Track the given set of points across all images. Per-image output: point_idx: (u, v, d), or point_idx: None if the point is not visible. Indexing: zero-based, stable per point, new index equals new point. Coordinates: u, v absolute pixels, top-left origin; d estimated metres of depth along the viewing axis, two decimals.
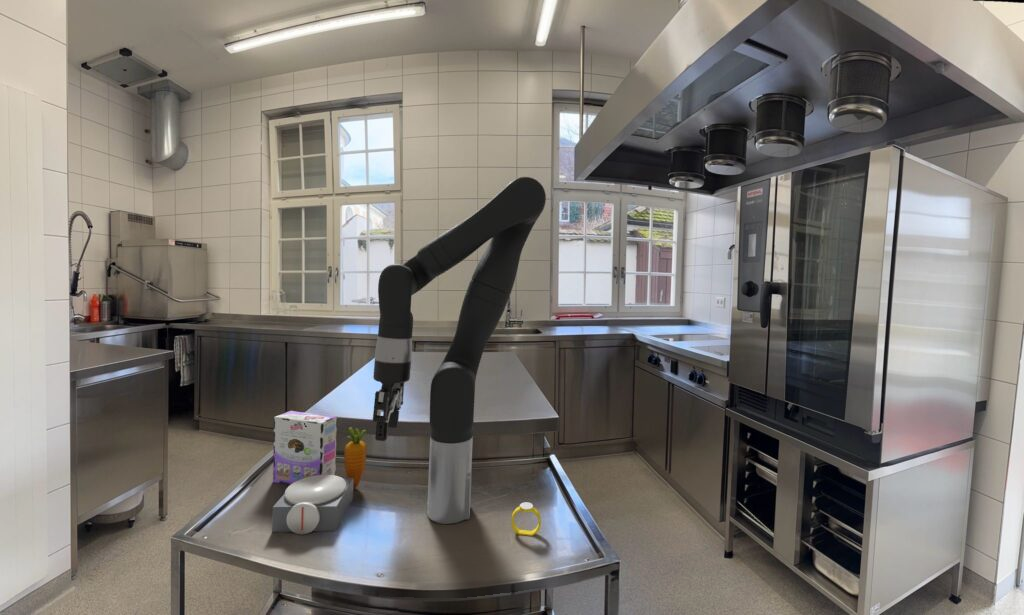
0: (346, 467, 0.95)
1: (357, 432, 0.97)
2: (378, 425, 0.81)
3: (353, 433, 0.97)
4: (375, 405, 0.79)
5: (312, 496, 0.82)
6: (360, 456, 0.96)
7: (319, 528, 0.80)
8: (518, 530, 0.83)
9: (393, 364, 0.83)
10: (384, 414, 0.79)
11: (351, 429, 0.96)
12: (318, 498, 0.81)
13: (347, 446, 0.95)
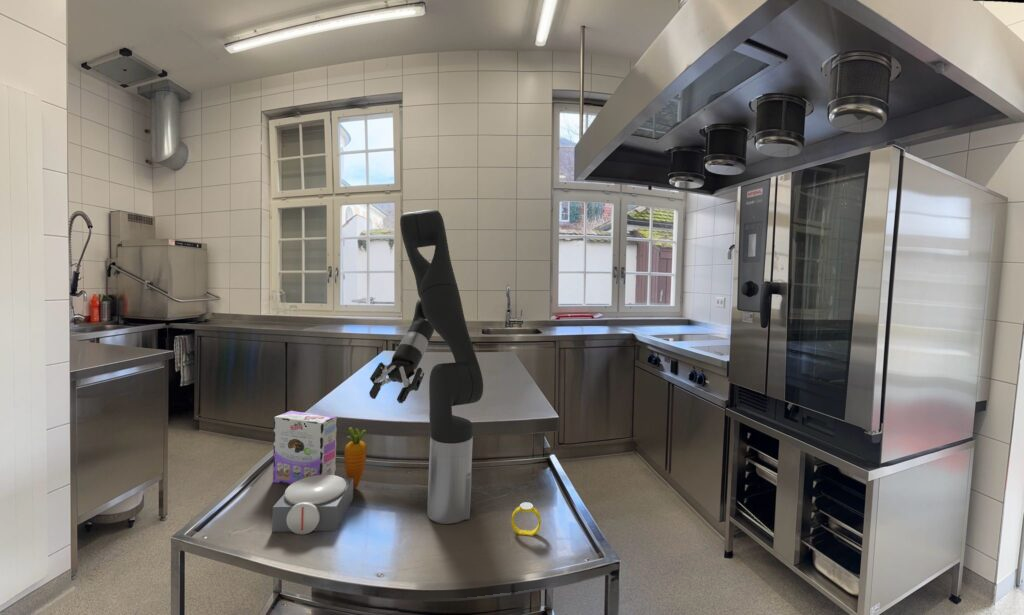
0: (346, 467, 0.95)
1: (357, 432, 0.97)
2: None
3: (353, 433, 0.97)
4: None
5: (312, 496, 0.82)
6: (360, 456, 0.96)
7: (319, 528, 0.80)
8: (518, 530, 0.83)
9: None
10: None
11: (351, 429, 0.96)
12: (318, 498, 0.81)
13: (347, 446, 0.95)
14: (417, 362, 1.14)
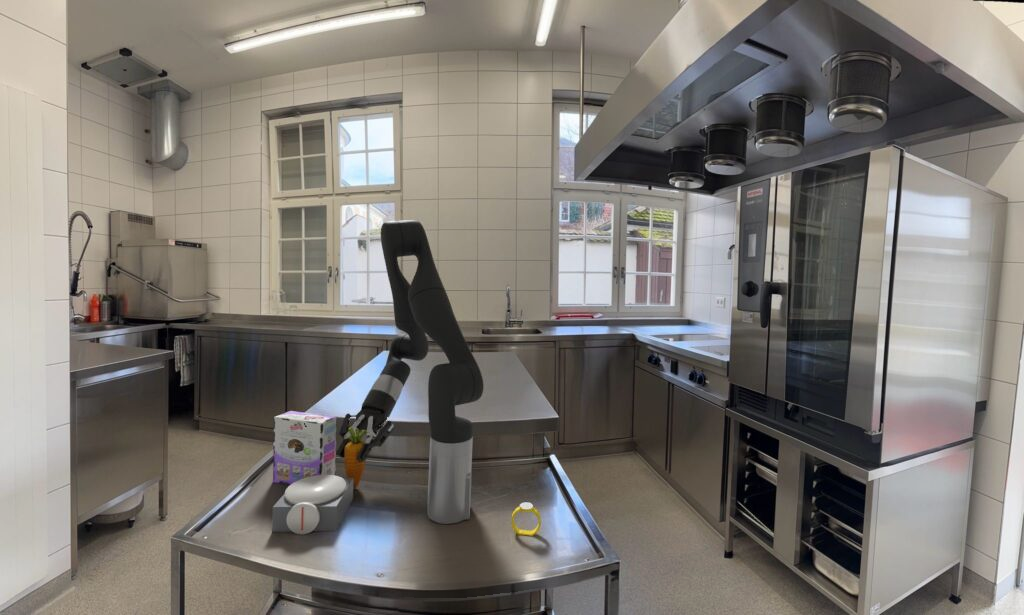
0: (346, 467, 0.95)
1: (357, 432, 0.97)
2: None
3: (353, 433, 0.97)
4: None
5: (312, 496, 0.82)
6: None
7: (319, 528, 0.80)
8: (518, 530, 0.83)
9: None
10: None
11: (351, 429, 0.96)
12: (318, 498, 0.81)
13: (347, 446, 0.95)
14: (389, 410, 1.03)
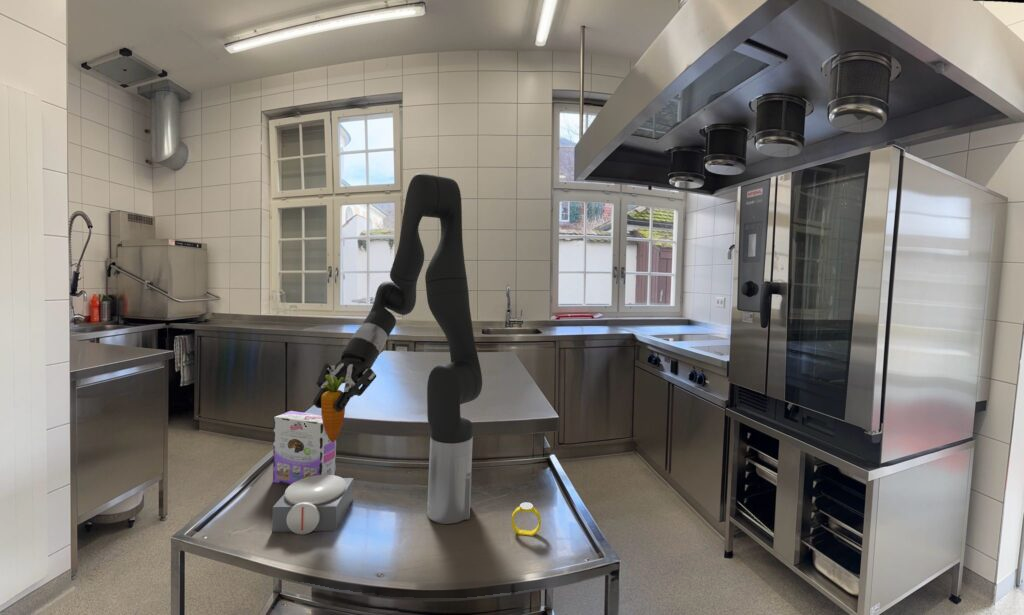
0: (323, 417, 0.87)
1: (335, 380, 0.89)
2: None
3: (330, 381, 0.89)
4: None
5: (312, 496, 0.82)
6: None
7: (319, 528, 0.80)
8: (518, 530, 0.83)
9: None
10: None
11: (328, 376, 0.88)
12: (318, 498, 0.81)
13: (324, 394, 0.87)
14: (371, 359, 0.95)
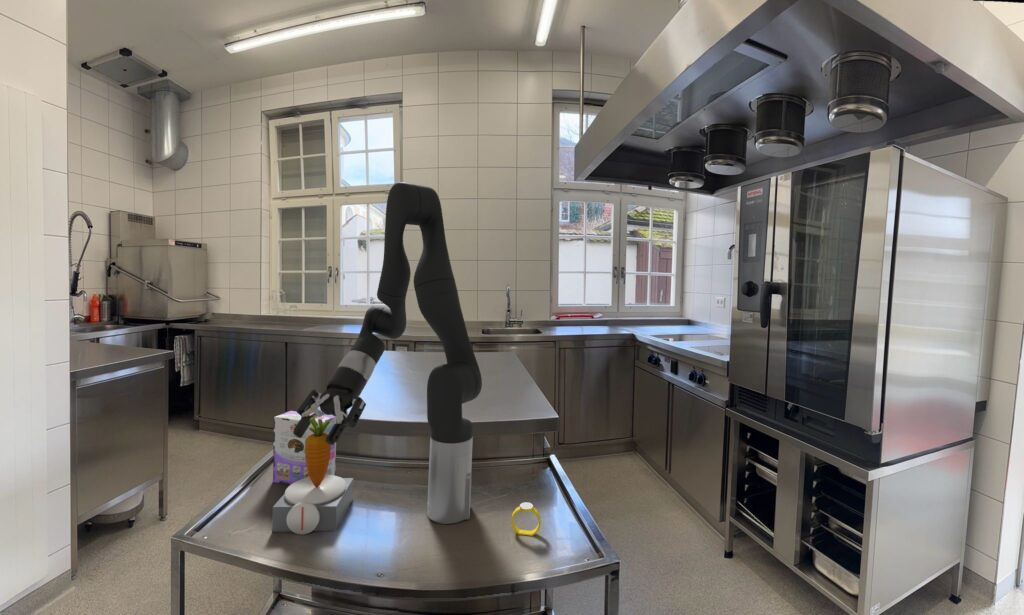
0: (307, 462, 0.84)
1: (320, 423, 0.86)
2: None
3: (315, 424, 0.85)
4: None
5: (312, 496, 0.82)
6: (323, 451, 0.84)
7: (319, 528, 0.80)
8: (518, 530, 0.83)
9: None
10: None
11: (313, 420, 0.85)
12: (318, 498, 0.81)
13: (308, 439, 0.84)
14: (358, 389, 0.91)
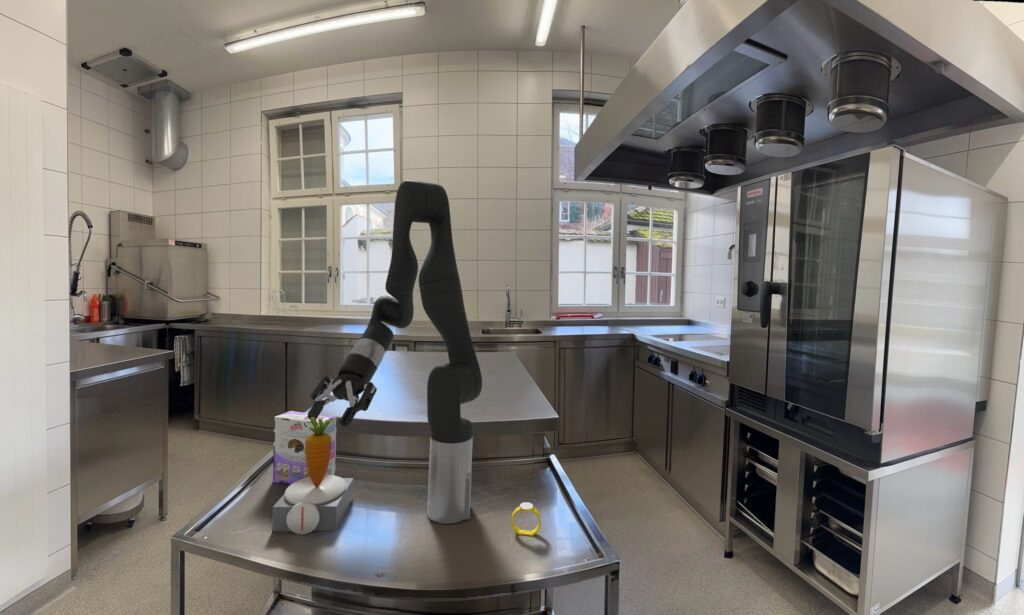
0: (307, 462, 0.84)
1: (320, 423, 0.86)
2: None
3: (315, 424, 0.85)
4: None
5: (312, 496, 0.82)
6: (323, 450, 0.84)
7: (319, 528, 0.80)
8: (518, 530, 0.83)
9: None
10: None
11: (313, 419, 0.85)
12: (318, 498, 0.81)
13: (308, 438, 0.84)
14: (369, 375, 0.94)
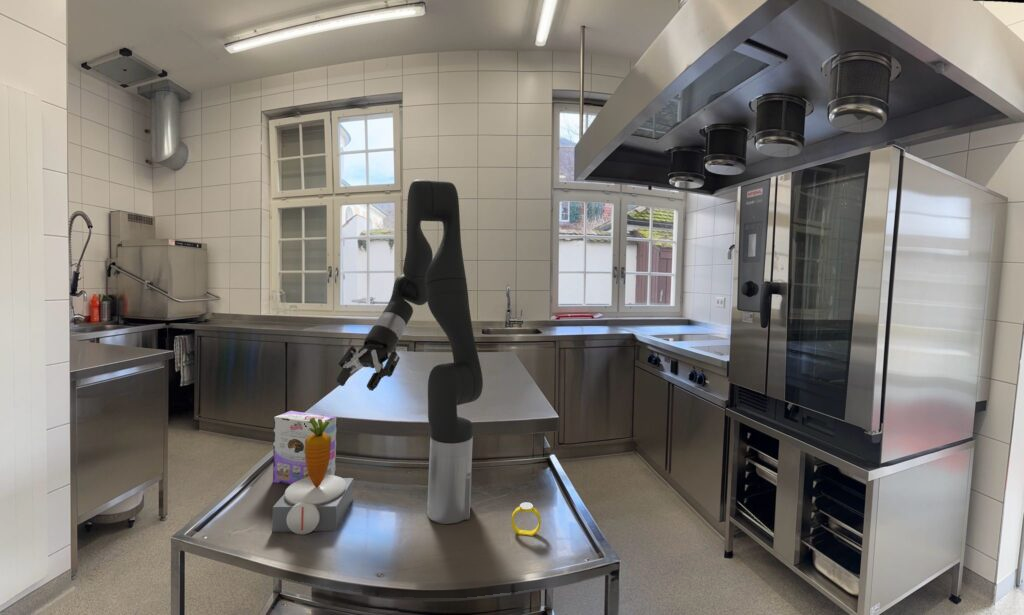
0: (307, 462, 0.84)
1: (320, 423, 0.86)
2: None
3: (315, 424, 0.85)
4: None
5: (312, 496, 0.82)
6: (323, 451, 0.84)
7: (319, 528, 0.80)
8: (518, 530, 0.83)
9: None
10: None
11: (313, 420, 0.85)
12: (318, 498, 0.81)
13: (308, 439, 0.84)
14: (392, 345, 1.02)
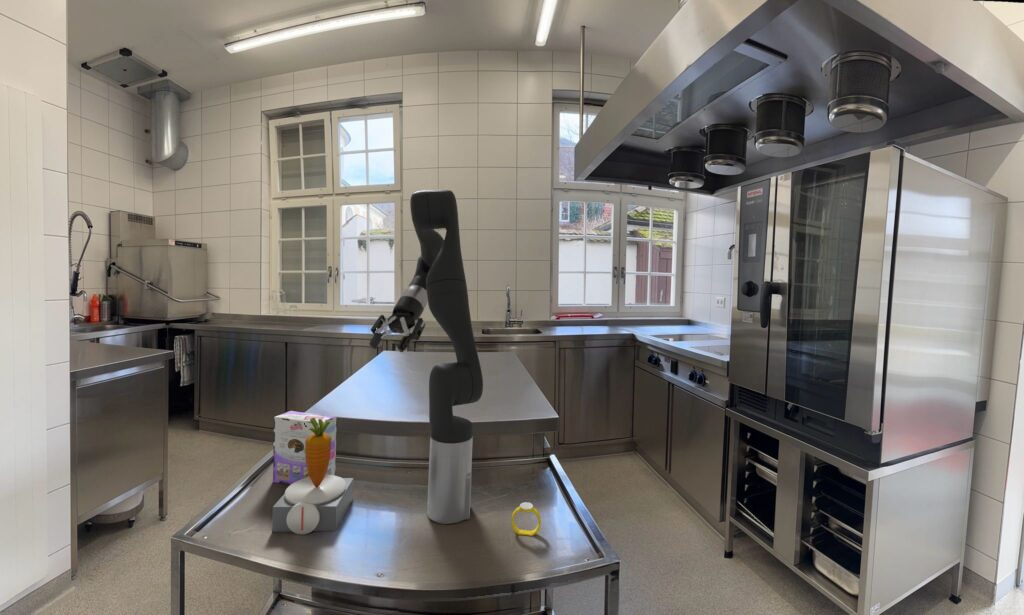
0: (307, 462, 0.84)
1: (320, 423, 0.86)
2: None
3: (316, 424, 0.85)
4: None
5: (312, 496, 0.82)
6: (323, 451, 0.84)
7: (319, 528, 0.80)
8: (518, 530, 0.83)
9: None
10: None
11: (313, 420, 0.85)
12: (318, 498, 0.81)
13: (308, 439, 0.84)
14: (418, 314, 1.13)
